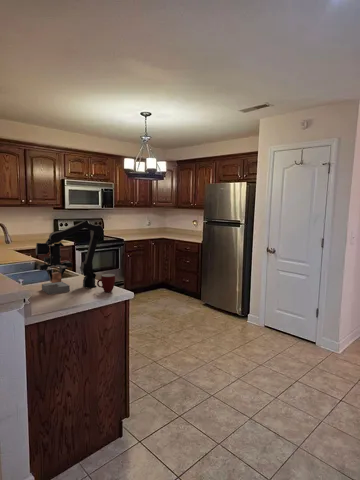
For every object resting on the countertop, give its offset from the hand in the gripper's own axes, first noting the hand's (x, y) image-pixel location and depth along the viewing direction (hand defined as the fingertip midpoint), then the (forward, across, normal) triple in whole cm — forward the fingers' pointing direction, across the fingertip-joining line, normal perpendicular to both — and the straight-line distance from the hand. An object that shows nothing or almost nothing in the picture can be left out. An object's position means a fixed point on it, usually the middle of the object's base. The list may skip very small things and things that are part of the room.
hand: (55, 279), depth 186 cm
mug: (+7, -23, +19) cm, 31 cm away
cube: (+1, 0, 0) cm, 1 cm away
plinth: (+6, 0, 0) cm, 7 cm away
